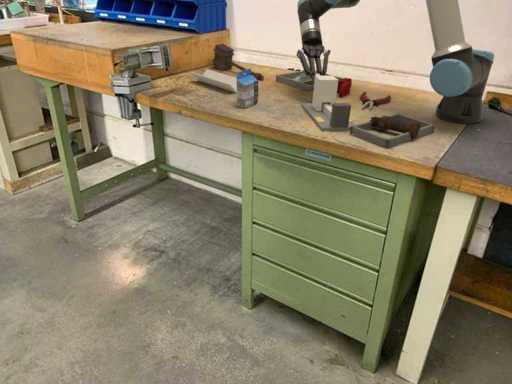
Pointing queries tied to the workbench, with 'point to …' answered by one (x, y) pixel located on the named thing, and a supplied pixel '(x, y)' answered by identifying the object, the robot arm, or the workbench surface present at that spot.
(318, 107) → the cream upright block
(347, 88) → the mechanical linkage
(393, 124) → the bolt
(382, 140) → the bolt parts frame
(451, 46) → the robot arm
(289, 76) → the bracket parts frame
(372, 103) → the pliers
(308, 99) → the workbench surface
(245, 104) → the label tape box
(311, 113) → the rail board
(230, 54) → the hammer
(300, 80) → the metal bracket
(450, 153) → the workbench surface
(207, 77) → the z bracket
